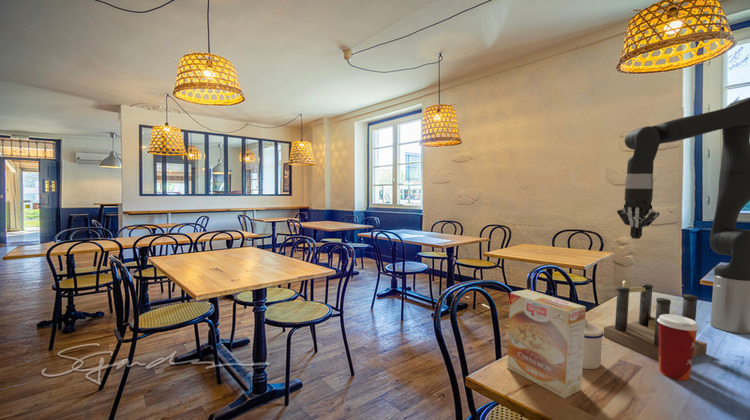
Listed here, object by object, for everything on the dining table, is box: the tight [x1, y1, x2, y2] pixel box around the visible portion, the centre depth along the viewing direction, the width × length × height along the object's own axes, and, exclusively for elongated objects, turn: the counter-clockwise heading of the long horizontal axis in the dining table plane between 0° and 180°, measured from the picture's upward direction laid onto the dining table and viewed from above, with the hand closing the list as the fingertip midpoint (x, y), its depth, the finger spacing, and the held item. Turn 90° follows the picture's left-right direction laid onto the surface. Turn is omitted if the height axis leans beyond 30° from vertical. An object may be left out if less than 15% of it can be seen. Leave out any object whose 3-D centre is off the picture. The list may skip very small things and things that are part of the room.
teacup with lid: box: [582, 317, 604, 370], centre depth 91 cm, size 12×9×12 cm
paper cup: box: [657, 313, 700, 381], centre depth 84 cm, size 8×8×14 cm
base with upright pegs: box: [603, 286, 708, 361], centre depth 101 cm, size 17×17×16 cm
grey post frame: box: [621, 280, 654, 326], centre depth 107 cm, size 10×3×14 cm, turn 102°
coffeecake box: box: [506, 288, 587, 399], centre depth 81 cm, size 15×7×20 cm, turn 31°
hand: (635, 238), depth 117 cm, fingers closed
